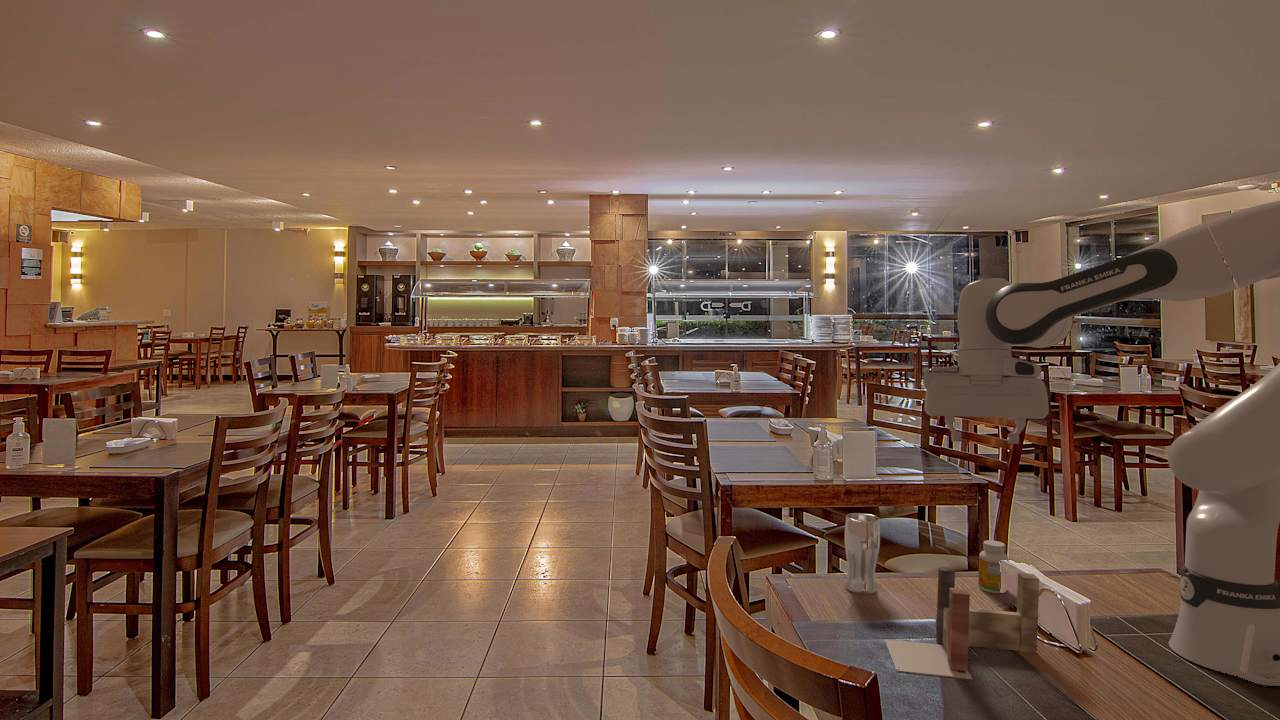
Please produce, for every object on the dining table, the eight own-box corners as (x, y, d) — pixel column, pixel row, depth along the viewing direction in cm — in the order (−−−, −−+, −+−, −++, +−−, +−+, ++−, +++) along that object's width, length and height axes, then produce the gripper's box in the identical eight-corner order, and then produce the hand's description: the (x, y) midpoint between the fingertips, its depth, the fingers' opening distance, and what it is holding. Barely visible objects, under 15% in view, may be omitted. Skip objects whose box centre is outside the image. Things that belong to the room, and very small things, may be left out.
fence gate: (938, 642, 113) (940, 572, 113) (954, 643, 113) (956, 573, 112) (950, 668, 104) (952, 593, 104) (967, 670, 104) (969, 594, 103)
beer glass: (881, 596, 134) (883, 523, 134) (845, 593, 136) (846, 520, 135) (876, 584, 141) (877, 513, 141) (841, 581, 143) (843, 511, 142)
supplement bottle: (978, 582, 143) (979, 537, 142) (1006, 587, 140) (1008, 541, 140) (978, 591, 138) (979, 544, 137) (1008, 596, 135) (1009, 548, 135)
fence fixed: (1030, 646, 113) (1033, 573, 113) (1036, 654, 111) (1039, 579, 110) (934, 638, 116) (936, 566, 116) (938, 644, 114) (940, 571, 113)
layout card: (953, 647, 113) (953, 645, 113) (971, 679, 102) (971, 677, 102) (884, 640, 115) (884, 639, 115) (896, 671, 104) (896, 670, 104)
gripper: (925, 365, 123) (925, 440, 122) (1051, 366, 117) (1052, 445, 116) (921, 367, 129) (921, 439, 128) (1040, 368, 124) (1041, 444, 123)
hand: (984, 442), depth 122 cm, fingers open, 8 cm apart
